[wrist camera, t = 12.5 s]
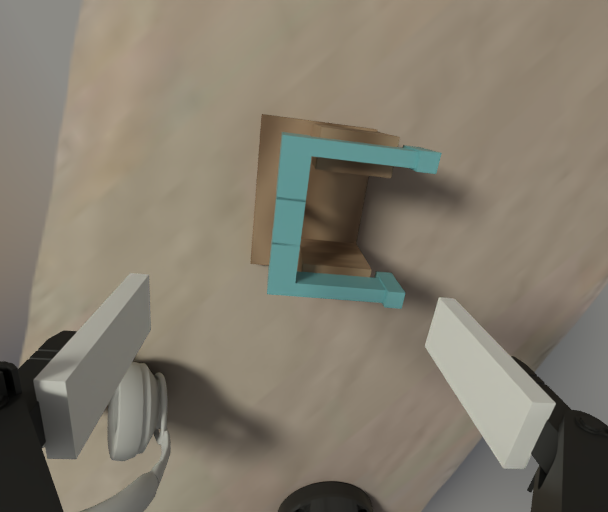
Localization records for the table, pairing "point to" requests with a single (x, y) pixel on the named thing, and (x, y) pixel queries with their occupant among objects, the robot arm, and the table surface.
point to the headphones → (137, 434)
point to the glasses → (291, 215)
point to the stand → (318, 197)
